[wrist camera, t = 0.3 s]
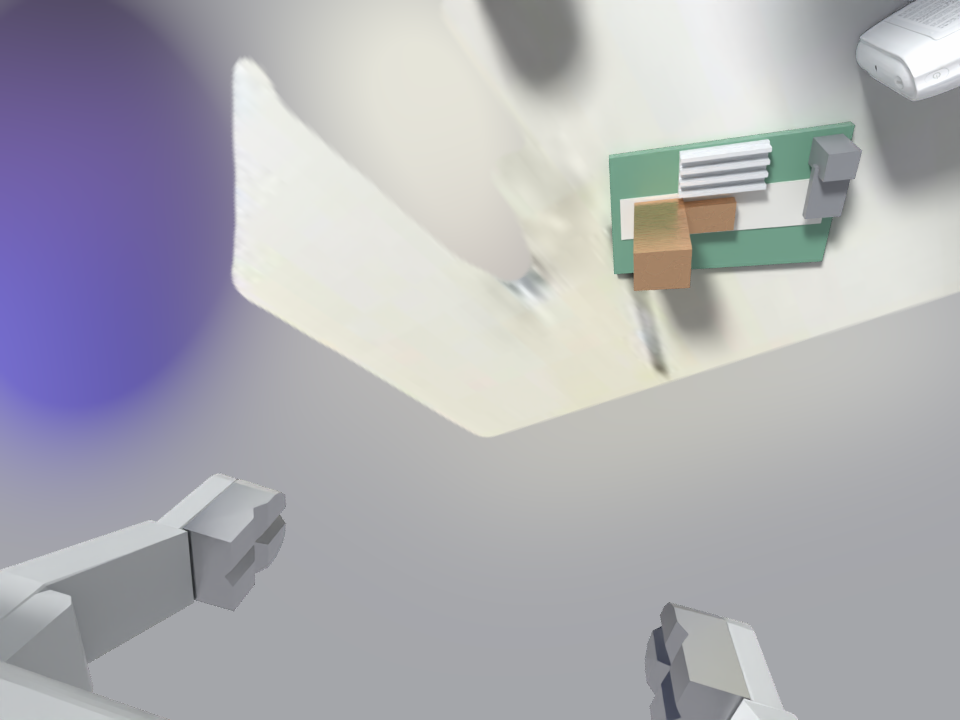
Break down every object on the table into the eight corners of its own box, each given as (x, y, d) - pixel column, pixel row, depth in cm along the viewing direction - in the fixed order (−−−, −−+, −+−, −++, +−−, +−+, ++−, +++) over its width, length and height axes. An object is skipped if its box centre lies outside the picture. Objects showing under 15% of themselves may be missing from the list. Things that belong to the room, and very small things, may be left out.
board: (614, 269, 61) (612, 296, 56) (609, 155, 52) (606, 175, 48) (818, 256, 54) (836, 285, 49) (850, 121, 45) (875, 141, 41)
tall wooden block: (634, 236, 56) (634, 290, 47) (634, 202, 53) (633, 253, 45) (730, 228, 53) (749, 284, 44) (734, 192, 50) (755, 244, 41)
